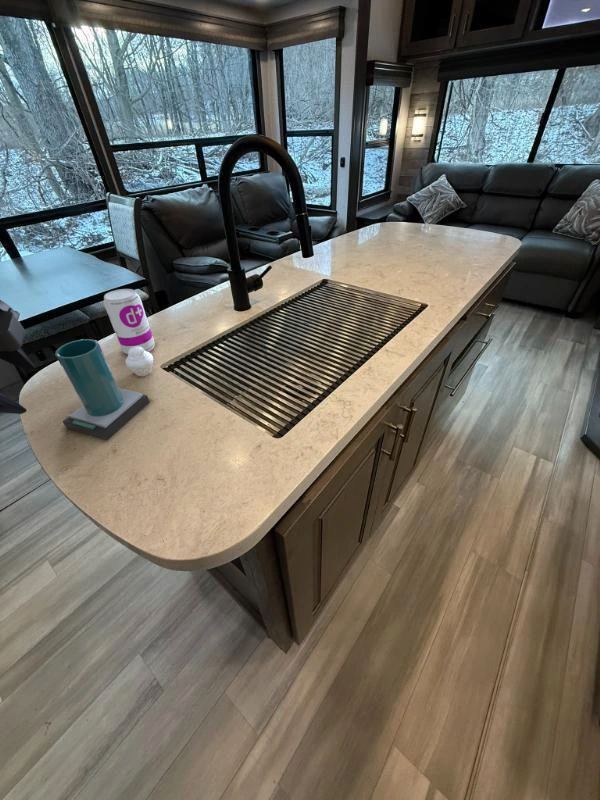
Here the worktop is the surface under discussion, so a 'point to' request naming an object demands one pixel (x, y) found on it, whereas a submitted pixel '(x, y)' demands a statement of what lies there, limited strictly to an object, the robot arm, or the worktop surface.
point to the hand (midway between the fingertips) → (28, 389)
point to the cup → (90, 376)
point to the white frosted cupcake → (139, 361)
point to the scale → (107, 417)
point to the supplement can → (129, 319)
